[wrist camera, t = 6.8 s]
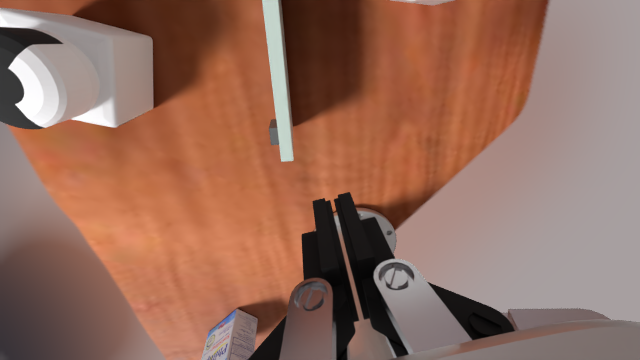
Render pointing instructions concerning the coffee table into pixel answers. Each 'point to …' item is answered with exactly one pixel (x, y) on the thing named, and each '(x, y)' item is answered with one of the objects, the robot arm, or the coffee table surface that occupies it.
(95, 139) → the coffee table surface
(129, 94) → the white square bottle
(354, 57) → the coffee table surface
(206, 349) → the medicine box
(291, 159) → the side door
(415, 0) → the white cabinet
